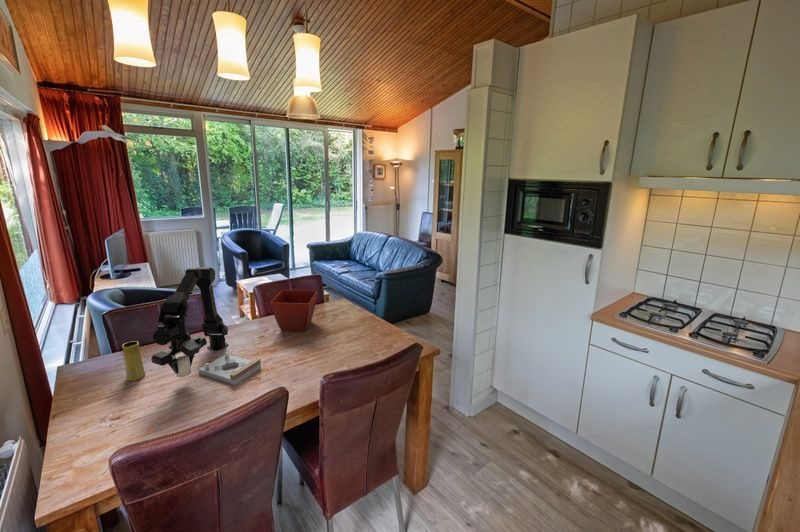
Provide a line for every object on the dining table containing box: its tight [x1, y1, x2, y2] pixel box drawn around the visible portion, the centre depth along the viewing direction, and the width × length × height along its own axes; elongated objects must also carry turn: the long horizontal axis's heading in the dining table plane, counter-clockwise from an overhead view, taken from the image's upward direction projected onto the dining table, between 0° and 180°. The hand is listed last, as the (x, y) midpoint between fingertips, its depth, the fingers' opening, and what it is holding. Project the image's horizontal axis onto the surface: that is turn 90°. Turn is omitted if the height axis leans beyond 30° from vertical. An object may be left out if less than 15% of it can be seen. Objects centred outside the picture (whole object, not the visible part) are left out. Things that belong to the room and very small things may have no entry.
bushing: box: [175, 353, 192, 378], centre depth 142 cm, size 5×5×7 cm
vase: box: [121, 340, 146, 382], centre depth 146 cm, size 6×6×14 cm
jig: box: [198, 351, 262, 386], centre depth 153 cm, size 19×14×4 cm
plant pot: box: [270, 289, 318, 332], centre depth 195 cm, size 19×19×17 cm
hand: (183, 370), depth 143 cm, fingers closed on bushing, 5 cm apart
